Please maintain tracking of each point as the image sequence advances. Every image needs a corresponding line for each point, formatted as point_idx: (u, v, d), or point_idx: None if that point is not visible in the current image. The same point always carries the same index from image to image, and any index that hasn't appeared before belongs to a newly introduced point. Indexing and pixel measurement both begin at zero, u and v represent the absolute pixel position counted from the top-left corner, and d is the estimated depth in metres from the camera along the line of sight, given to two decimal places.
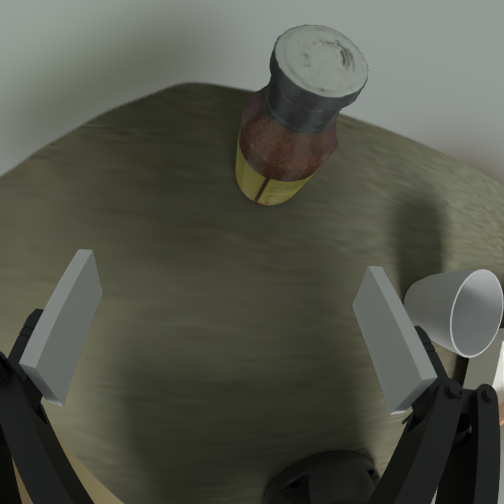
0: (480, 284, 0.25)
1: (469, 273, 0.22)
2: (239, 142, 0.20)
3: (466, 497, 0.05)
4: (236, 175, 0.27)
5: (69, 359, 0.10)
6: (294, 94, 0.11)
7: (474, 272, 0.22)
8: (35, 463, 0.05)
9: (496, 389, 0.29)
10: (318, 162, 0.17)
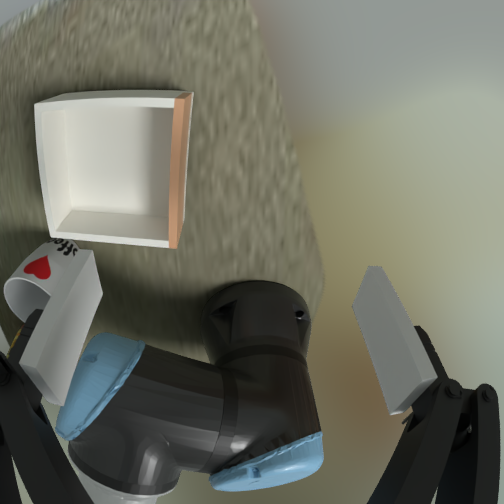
0: None
1: (14, 310, 0.27)
2: None
3: (466, 497, 0.05)
4: None
5: (68, 359, 0.10)
6: None
7: (12, 309, 0.27)
8: (35, 463, 0.05)
9: (144, 151, 0.25)
10: None
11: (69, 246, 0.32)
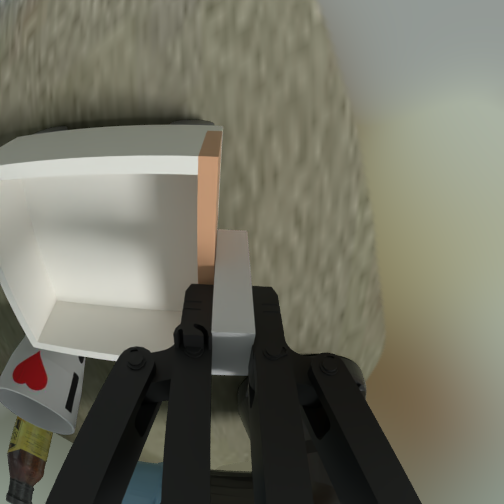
0: None
1: (13, 409, 0.20)
2: None
3: (362, 487, 0.06)
4: None
5: None
6: None
7: (9, 409, 0.19)
8: (190, 445, 0.07)
9: (149, 227, 0.16)
10: (32, 470, 0.25)
11: None
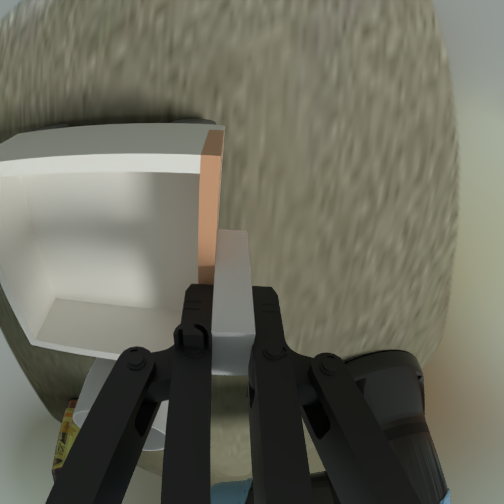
0: None
1: None
2: None
3: (362, 487, 0.06)
4: None
5: None
6: None
7: None
8: (190, 445, 0.07)
9: (150, 226, 0.16)
10: None
11: None
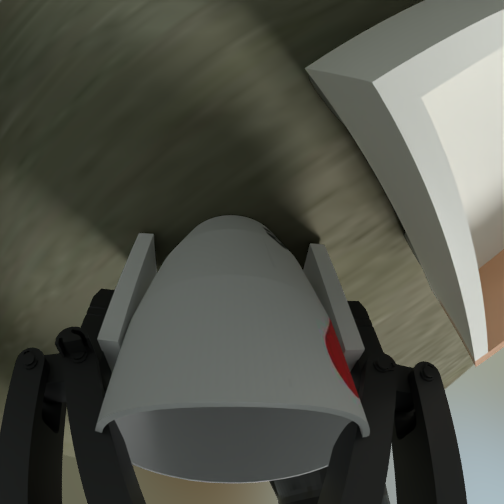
0: None
1: None
2: None
3: (426, 486, 0.06)
4: None
5: None
6: None
7: (99, 425, 0.06)
8: (96, 447, 0.06)
9: None
10: None
11: None
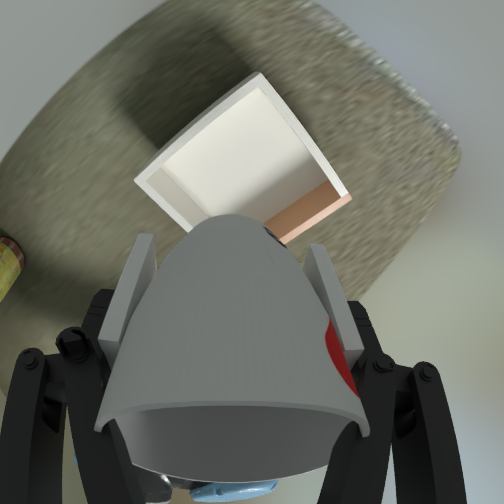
0: None
1: None
2: None
3: (426, 486, 0.06)
4: None
5: None
6: None
7: (98, 424, 0.06)
8: (97, 447, 0.06)
9: (268, 184, 0.28)
10: None
11: None
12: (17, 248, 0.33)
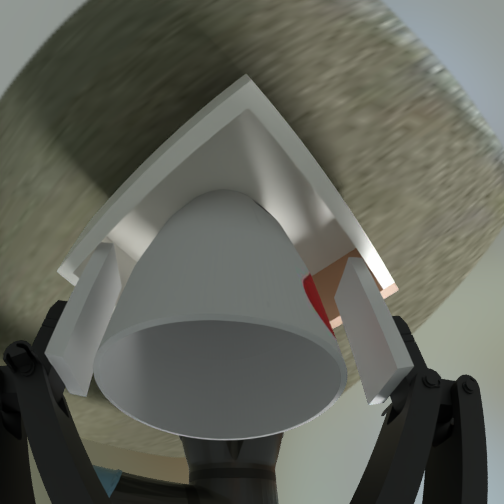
0: None
1: None
2: None
3: (453, 492, 0.06)
4: None
5: (92, 349, 0.11)
6: None
7: (97, 356, 0.08)
8: (55, 456, 0.06)
9: None
10: None
11: None
12: None
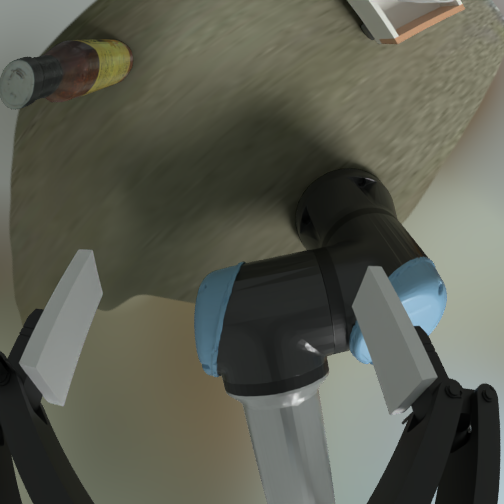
0: None
1: None
2: None
3: (466, 497, 0.05)
4: None
5: (68, 359, 0.10)
6: (25, 106, 0.16)
7: None
8: (35, 463, 0.05)
9: None
10: (85, 74, 0.21)
11: None
12: (130, 49, 0.29)
